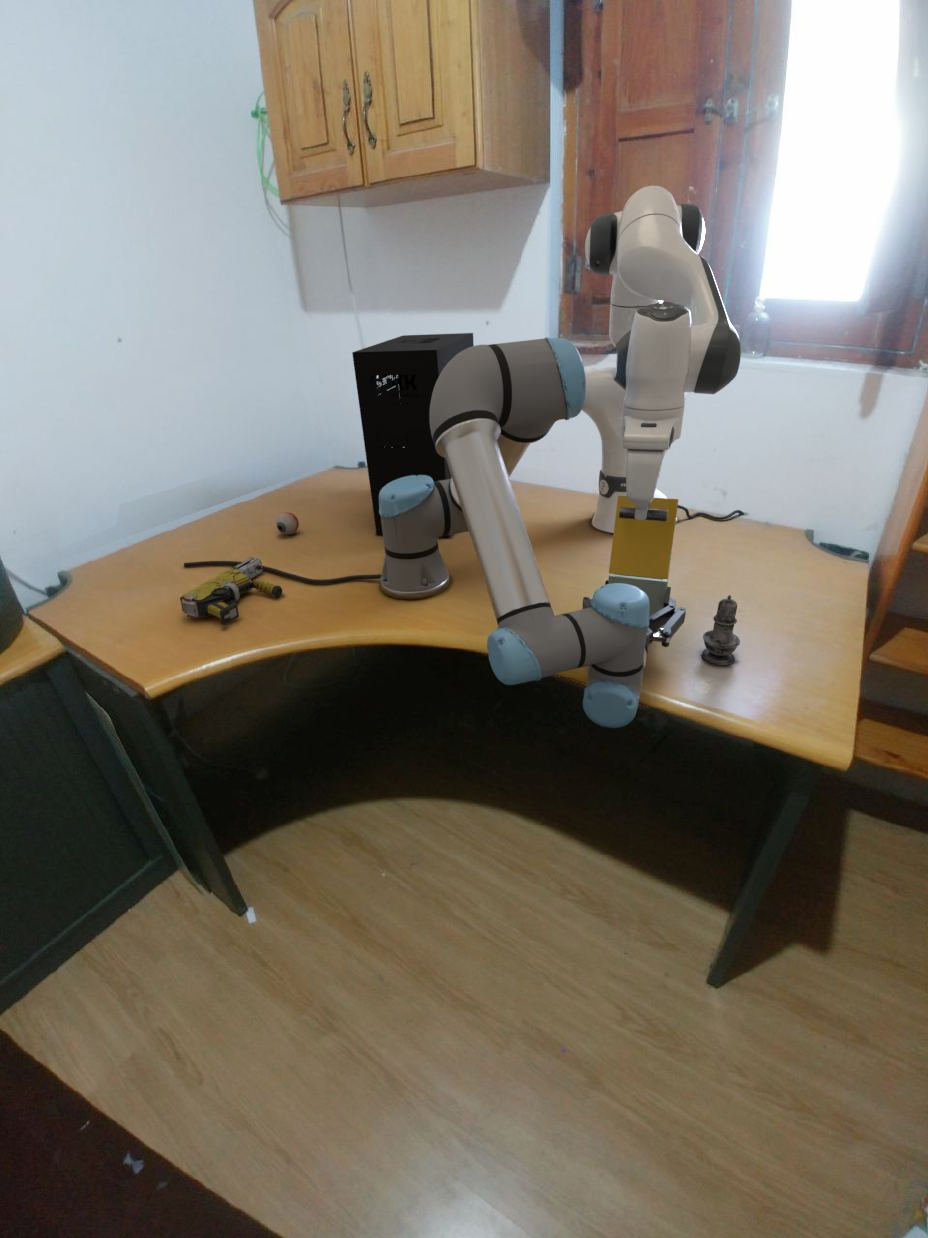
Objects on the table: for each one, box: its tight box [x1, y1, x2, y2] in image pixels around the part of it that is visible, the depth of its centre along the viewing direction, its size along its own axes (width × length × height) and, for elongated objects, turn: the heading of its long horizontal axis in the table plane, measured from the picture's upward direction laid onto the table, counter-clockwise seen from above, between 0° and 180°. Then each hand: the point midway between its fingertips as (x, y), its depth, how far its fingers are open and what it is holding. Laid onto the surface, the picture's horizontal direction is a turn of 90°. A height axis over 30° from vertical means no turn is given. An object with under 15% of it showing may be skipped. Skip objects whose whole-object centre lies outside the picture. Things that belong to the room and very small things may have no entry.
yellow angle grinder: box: [179, 556, 283, 625], centre depth 132 cm, size 5×24×15 cm
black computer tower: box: [351, 332, 475, 539], centre depth 164 cm, size 38×20×45 cm, turn 167°
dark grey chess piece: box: [701, 594, 741, 666], centre depth 101 cm, size 6×6×12 cm
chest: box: [608, 551, 673, 632], centre depth 117 cm, size 14×10×10 cm
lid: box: [608, 496, 679, 580], centre depth 104 cm, size 14×10×9 cm
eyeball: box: [275, 511, 300, 536], centre depth 163 cm, size 6×6×6 cm
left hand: (637, 590), depth 113 cm, fingers closed on chest, 10 cm apart
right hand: (642, 512), depth 98 cm, fingers open, 4 cm apart
